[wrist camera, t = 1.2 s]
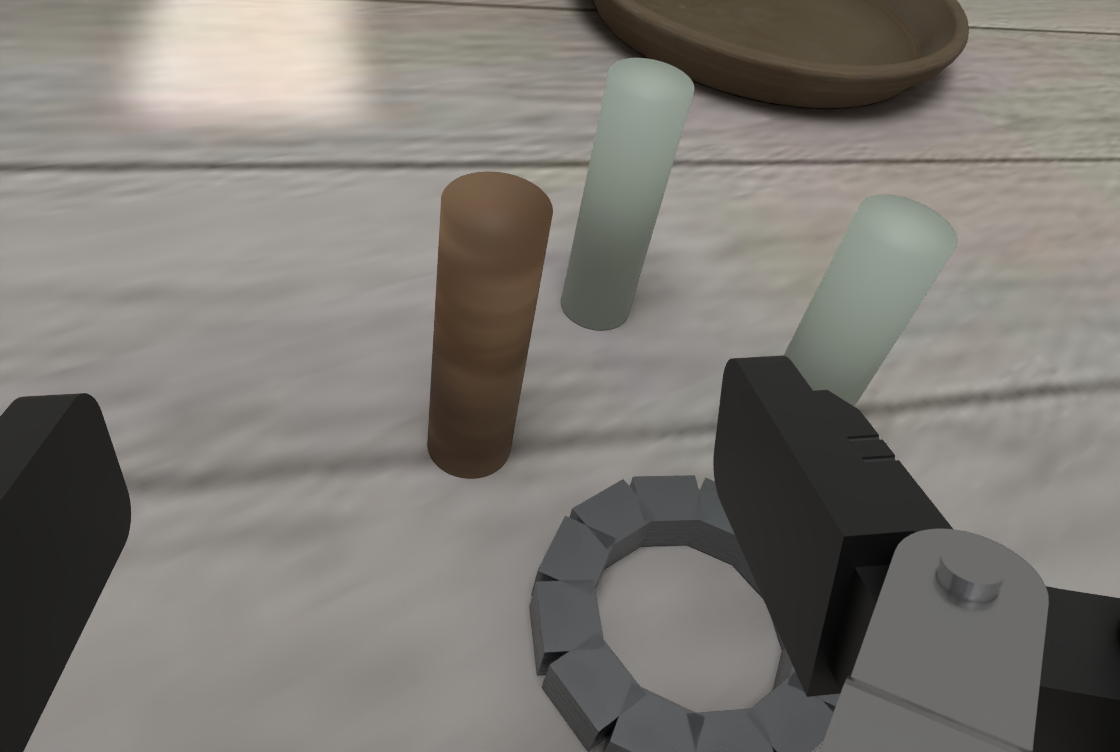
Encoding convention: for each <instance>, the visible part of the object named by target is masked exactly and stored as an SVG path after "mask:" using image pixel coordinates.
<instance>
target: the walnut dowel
mask: <svg viewBox="0 0 1120 752" xmlns="http://www.w3.org/2000/svg"><path fill="white" fill-rule="evenodd" d="M552 214H553V208H552V204H551V201H550V200H549V198H548V196H547V195H546V194H545V193H544V192H543V191H542V190H541V189H540V188H539V187H538V186H536V185H535V184H533V183H531V182H529V181H528V180H525V179H523V178H521V177H518V176H515V175H511V174H507V173H501V172H477V173H471V174H467V175H464V176H461V177H459V178H457V179H455V180H454V181H452V182H451V183H450V184H449V185H447V187H446V188H445V189H444V191H443V193H442V197H441V213H440V230H439V248H438V266H437V283H436V301H435V319H434V336H433V354H432V372H431V389H430V407H429V424H428V442H427V446H428V451H429V454H430V456H431V458H432V460H433V461H434V462H435V464H436V465H437V466H438V467H440V468H441V469H442V470H444V471H445V472H447V473H449V474H451V475H454V476H457V477H462V478H480V477H484V476H487V475H490V474H492V473H494V472H496V471H497V470H498V469H500V468H501V467H502V466H503V465H504V464H505V462H506V461H507V459H508V457H509V454H510V450H511V444H512V438H513V433H514V427H515V422H516V416H517V410H518V405H519V399H520V394H521V388H522V382H523V377H524V371H525V366H526V360H527V354H528V349H529V343H530V338H531V332H532V326H533V321H534V315H535V310H536V304H537V298H538V293H539V287H540V282H541V276H542V270H543V265H544V259H545V254H546V248H547V242H548V237H549V231H550V226H551V220H552Z"/></svg>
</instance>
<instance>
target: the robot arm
mask: <svg viewBox="0 0 1120 752" xmlns="http://www.w3.org/2000/svg"><path fill="white" fill-rule="evenodd" d="M713 463H714V478H715V485H716V490H717V494H718V497H719V500H720V502H721V505H722V507H723V509H724V511H725V514H726V516H727V518H728V520H729V523H730V525H731V527H732V529H733V532H734V534H735V536H736V538H737V541H738V543H739V545H740V547H741V550H742V552H743V554H744V557H745V559H746V561H747V563H748V566H749V568H750V570H751V572H752V575H753V577H754V579H755V581H756V584H757V586H758V588H759V590H760V593H761V595H762V597H763V599H764V602H765V604H766V606H767V608H768V611H769V613H770V615H771V617H772V620H773V622H774V624H775V626H776V629H777V631H778V633H779V635H780V638H781V640H782V642H783V644H784V647H785V649H786V651H787V653H788V656H789V658H790V660H791V662H792V665H793V667H794V669H795V671H796V674H797V676H798V678H799V681H800V683H801V685H802V687H803V690H804V692H805V694H806V696H807V697H811V696H821V695H831V694H840V696H839V699H838V702H837V705H836V707H835V710H834V713H833V716H832V719H831V721H830V724H829V727H828V730H827V733H826V735H825V738H824V741H823V744H822V747H821V749H820V752H1120V598H1114V597H1108V596H1102V595H1095V594H1089V593H1082V592H1076V591H1070V590H1063V589H1057V588H1052V587H1047V586H1045V584H1044V582H1043V580H1042V578H1041V577H1040V575H1039V574H1038V573H1037V572H1036V570H1035V569H1034V568H1033V567H1032V566H1031V565H1030V564H1029V563H1028V562H1027V561H1026V560H1024V559H1023V558H1022V557H1020V556H1019V555H1018V554H1016V553H1015V552H1014V551H1012V550H1010V549H1009V548H1007V547H1005V546H1004V545H1002V544H999V543H997V542H995V541H993V540H991V539H988V538H986V537H983V536H980V535H977V534H974V533H970V532H966V531H960V530H954V529H953V528H952V527H951V526H950V524H949V523H948V522H947V521H946V519H945V518H944V517H943V516H942V514H941V513H940V512H939V511H938V509H937V508H936V507H935V505H934V504H933V503H932V502H931V500H930V499H929V498H928V497H927V495H926V494H925V493H924V491H923V490H922V489H921V488H920V486H919V485H918V484H917V483H916V481H915V480H914V479H913V478H912V476H911V475H910V474H909V472H908V471H907V470H906V469H905V467H904V466H903V465H902V464H901V462H900V461H899V460H897V461H895V455H894V453H893V452H892V451H891V450H890V448H889V447H888V446H887V445H886V443H885V442H884V441H883V440H879V434H878V433H877V432H876V431H875V429H874V428H873V427H872V425H871V424H870V423H869V422H868V420H867V419H866V418H865V417H864V415H863V414H862V413H861V412H860V410H858V409H857V408H855V407H854V406H852V405H851V404H849V403H848V402H846V401H844V400H843V399H841V398H840V397H838V396H837V395H835V394H833V393H832V392H830V391H829V390H815V391H813V390H812V388H811V387H810V386H809V384H808V383H807V382H806V380H805V379H804V377H803V376H802V375H801V373H800V372H799V371H798V369H797V368H796V366H795V365H794V364H793V362H792V361H791V360H790V359H789V358H788V357H787V356H768V357H750V358H733V359H730V360H729V361H728V362H727V364H726V366H725V369H724V374H723V381H722V389H721V398H720V406H719V415H718V423H717V431H716V440H715V448H714V462H713ZM130 523H131V504H130V498H129V493H128V490H127V487H126V484H125V481H124V478H123V475H122V472H121V469H120V465H119V462H118V459H117V456H116V453H115V450H114V447H113V444H112V441H111V438H110V435H109V432H108V429H107V426H106V423H105V420H104V417H103V414H102V411H101V409H100V407H99V405H98V403H97V401H96V400H95V399H94V398H93V397H92V396H91V395H89V394H86V393H81V394H63V395H45V396H27V397H20V398H17V399H16V400H14V401H13V402H12V403H11V405H10V406H9V407H8V408H7V409H6V410H5V412H4V413H3V414H2V415H1V416H0V752H23V751H24V749H25V747H26V745H27V743H28V741H29V739H30V737H31V735H32V733H33V731H34V729H35V726H36V724H37V722H38V720H39V718H40V716H41V714H42V712H43V710H44V708H45V706H46V704H47V702H48V700H49V698H50V696H51V694H52V692H53V690H54V688H55V686H56V684H57V682H58V680H59V678H60V676H61V674H62V672H63V670H64V668H65V665H66V663H67V661H68V659H69V657H70V655H71V653H72V651H73V649H74V647H75V645H76V643H77V641H78V639H79V637H80V635H81V633H82V631H83V629H84V627H85V625H86V623H87V621H88V619H89V617H90V615H91V613H92V611H93V609H94V607H95V604H96V602H97V600H98V598H99V596H100V594H101V592H102V590H103V588H104V586H105V584H106V582H107V580H108V578H109V576H110V574H111V572H112V570H113V568H114V566H115V564H116V562H117V560H118V558H119V556H120V554H121V552H122V550H123V548H124V546H125V543H126V541H127V538H128V535H129V530H130Z"/></svg>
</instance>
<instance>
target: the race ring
mask: <svg viewBox="0 0 1120 752" xmlns="http://www.w3.org/2000/svg"><path fill="white" fill-rule="evenodd" d="M667 545H688V546H691V547H693V548H695V549H697V550H700V551H702V552H704V553H707V554H709V555H711V556H713V557H716V558H718V559H720V560H723V561H725V562H727V563H729V564H732V565H733V566H734V567H735V568H736V569H737V570H738V571H739V573H740V574H741V575H742V576H743V577H744V578H745V579H746V580H747V581H748V582H749V583H750V584H751V586H752V587H753V588H754V589H755V590H756V591H757V592H758V593H759V594H760V595H761V593H760V590H759V588H758V586H757V584H756V581H755V579H754V577H753V575H752V572H751V570H750V568H749V566H748V563H747V561H746V559H745V557H744V554H743V552H742V550H741V547H740V545H739V543H738V541H737V538H736V536H735V534H734V532H733V529H732V527H731V525H730V523H729V520H728V518H727V516H726V514H725V511H724V509H723V507H722V505H721V502H720V500H719V497H718V494H717V490H716V485H715V482H714V481H712V480H710V479H707V478H705V480H704V482H703V484H702V486H701V488H700V490H699V489H698V485H697V482H696V478H695V476H643V477H633V478H632V481H631V484H630V486H629V485H628V484H627V483H626V482H625V481H624V480H621V481H619V482H618V483H616V484H614V485H612V486H611V487H609V488H607V489H605V490H604V491H602V492H600V493H598V494H597V495H595V496H593V497H591V498H590V499H588V500H586V501H584V502H583V503H581V504H579V505H577V506H576V507H574V508H572V511H571V514H570V518H569V517H567V516H565V517H564V519H563V521H562V523H561V525H560V527H559V529H558V531H557V533H556V535H555V537H554V539H553V541H552V543H551V545H550V547H549V549H548V551H547V553H546V555H545V557H544V559H543V561H542V563H541V565H540V567H539V569H538V572H537V576H536V580H535V584H534V587H533V591H532V599H531V602H530V606H529V607H530V616H531V625H532V634H533V642H534V651H535V660H536V669H537V675H546V677H545V679H544V682H543V685H542V688H543V690H544V691H545V692H546V694H547V695H548V697H549V698H550V699H551V701H552V702H553V704H554V705H555V706H556V708H557V709H558V710H559V712H560V713H561V715H562V716H563V717H564V719H565V720H566V722H567V723H568V724H569V726H570V727H571V729H572V730H573V731H574V733H575V734H576V736H577V737H578V738H579V740H580V741H581V743H582V744H583V745H584V747H585V748H586V750H587V751H590V750H591V749H592V748H594V747H595V746H596V745H597V744H599V743H600V742H601V741H603V740H604V739H605V738H607V740H606V743H605V746H604V748H603V751H602V752H810V751H811V750H812V749H813V748H815V747H816V746H817V745H818V744H819V743H820V742H821V741H822V740H823V739H824V738H825V735H826V733H827V730H828V727H829V724H830V721H831V719H832V716H833V713H834V710H835V707H836V705H837V702H838V699H839V696H840V694H831V695H821V696H811V697H807V696H806V694H805V692H804V690H803V687H802V685H801V683H800V681H799V678H798V676H797V674H796V671H795V669H794V667H793V665H792V662H791V660H790V658H789V656H788V653H787V651H786V649H785V647H784V644H783V642H782V640H781V638H780V635H779V633H778V631H777V629H776V626H775V624H774V626H775V629H776V632H777V635H778V638H779V642H780V645H781V648H782V654H781V658H780V662H779V667H778V671H777V675H776V680H775V684H774V688H773V691H772V692H771V693H769V694H768V695H767V696H766V697H765V698H764V699H762V700H761V701H760V702H759V703H758V704H756V705H755V706H754V707H753V708H751V709H738V710H726V711H713V712H700V713H695V712H693V711H691V710H689V709H687V708H685V707H682V706H680V705H678V704H676V703H674V702H672V701H670V700H668V699H665V698H663V697H661V696H659V695H657V694H655V693H653V692H651V691H648V690H646V689H644V688H642V687H640V686H639V684H638V683H637V682H636V680H635V679H634V678H633V677H632V675H631V674H630V673H629V672H628V670H627V669H626V668H625V666H624V665H623V664H622V663H621V661H620V660H619V659H618V657H617V656H616V655H615V654H614V652H613V651H612V650H611V649H610V647H609V646H608V645H607V643H606V642H605V641H604V640H603V634H602V628H601V622H600V616H599V610H598V605H597V599H596V593H595V588H596V586H597V584H598V581H599V579H600V577H601V575H602V572H603V570H604V569H606V568H607V567H609V566H610V565H612V564H614V563H615V562H617V561H618V560H620V559H621V558H623V557H625V556H626V555H628V554H629V553H631V552H632V551H634V550H636V549H637V548H639V547H640V546H667ZM761 596H762V595H761ZM773 623H774V622H773Z"/></svg>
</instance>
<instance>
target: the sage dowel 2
mask: <svg viewBox="0 0 1120 752" xmlns="http://www.w3.org/2000/svg"><path fill="white" fill-rule="evenodd" d="M957 243H958V239H957V235H956V233H955V231H954V229H953V227H952V226H951V225H950V223H949V222H948V221H947V220H946V219H945V218H943V217H942V216H941V215H940V214H938V213H937V212H936V211H934V210H933V209H931V208H929V207H927V206H926V205H924V204H921V203H919V202H917V201H914V200H911V199H908V198H905V197H900V196H895V195H876V196H872V197H869V198H867V199H865V200H864V201H863V202H862V203H861V204H860V206H859V208H858V210H857V212H856V214H855V216H854V218H853V220H852V222H851V224H850V226H849V227H848V229H847V231H846V233H845V235H844V237H843V239H842V241H841V243H840V245H839V247H838V249H837V251H836V253H835V255H834V257H833V259H832V261H831V263H830V265H829V267H828V269H827V271H826V273H825V275H824V277H823V279H822V281H821V283H820V285H819V287H818V289H817V291H816V293H815V295H814V297H813V298H812V300H811V302H810V304H809V306H808V308H807V310H806V312H805V314H804V316H803V318H802V320H801V322H800V324H799V326H798V328H797V330H796V332H795V334H794V336H793V338H792V340H791V342H790V344H789V346H788V348H787V350H786V352H785V354H784V356H787V357H788V358H789V359H790V360H791V361H792V362H793V364H794V365H795V366H796V368H797V369H798V371H799V372H800V373H801V375H802V376H803V377H804V379H805V380H806V382H807V383H808V384H809V386H810V387H811V388H812V390H813V391H815V390H829V391H830V392H832V393H833V394H835V395H837V396H838V397H840V398H841V399H843V400H844V401H846V402H848V403H849V404H851V405H852V406H855V405H856V403H857V402H858V400H859V399H860V397H861V396H862V394H863V392H864V391H865V389H866V388H867V386H868V385H869V383H870V381H871V380H872V378H873V377H874V375H875V374H876V372H877V371H878V369H879V367H880V366H881V364H882V363H883V361H884V360H885V358H886V356H887V355H888V353H889V352H890V350H891V349H892V347H893V346H894V344H895V342H896V341H897V339H898V338H899V336H900V335H901V333H902V331H903V330H904V328H905V327H906V325H907V324H908V322H909V320H910V319H911V317H912V316H913V314H914V313H915V311H916V310H917V308H918V306H919V305H920V303H921V302H922V300H923V299H924V297H925V295H926V294H927V292H928V291H929V289H930V288H931V286H932V285H933V283H934V281H935V280H936V278H937V277H938V275H939V274H940V272H941V270H942V269H943V267H944V266H945V264H946V263H947V261H948V260H949V258H950V256H951V255H952V253H953V252H954V250H955V248H956V247H957Z"/></svg>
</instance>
